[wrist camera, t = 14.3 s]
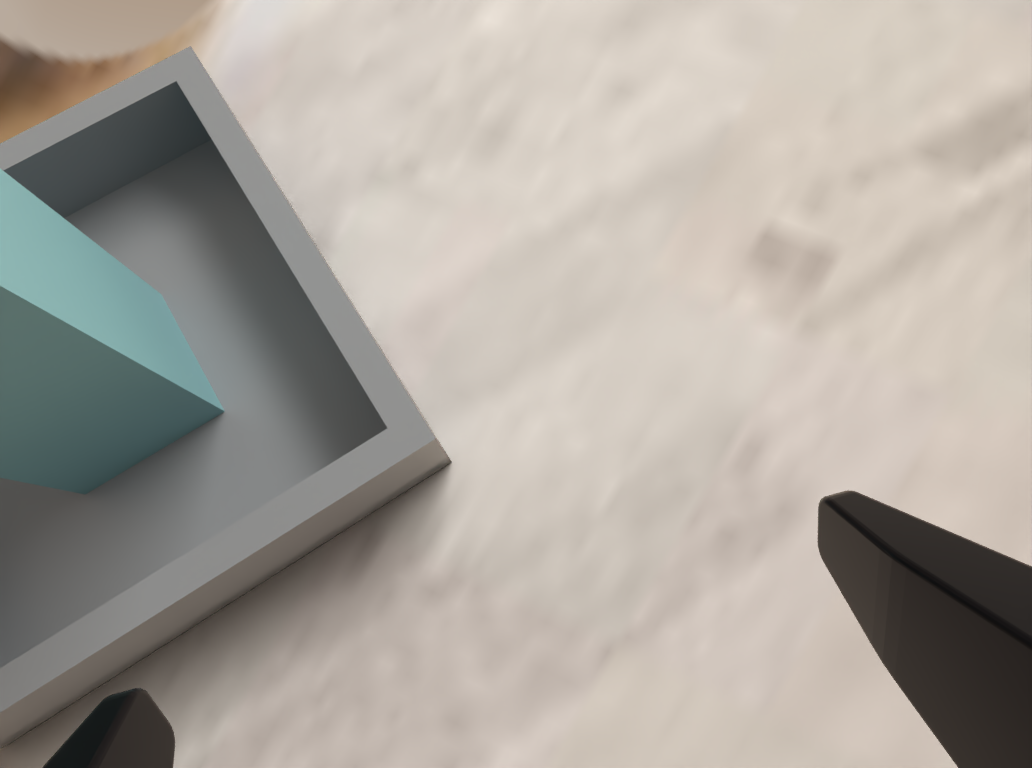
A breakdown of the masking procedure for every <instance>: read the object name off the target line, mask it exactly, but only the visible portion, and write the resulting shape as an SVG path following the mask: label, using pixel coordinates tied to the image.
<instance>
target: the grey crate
mask: <svg viewBox="0 0 1032 768" xmlns="http://www.w3.org/2000/svg"><path fill="white" fill-rule="evenodd" d="M0 169H2V170H3V171H4V172H5V173H7V174H8V175H9V176H11V177H12V178H13V179H14V180H16V181H17V182H18V183H20V184H21V185H22V186H23V187H25V188H26V189H27V190H28V191H30V192H31V193H32V194H34V195H35V196H36V197H37V198H39V199H40V200H41V201H43V202H44V203H45V204H46V205H48V206H49V207H50V208H52V209H53V210H54V211H55V212H57V213H58V214H59V215H61V216H62V217H63V218H64V219H66V220H67V221H68V222H69V223H71V224H72V225H73V226H75V227H76V228H77V229H78V230H80V231H81V232H82V233H84V234H85V235H86V236H87V237H89V238H90V239H91V240H93V241H94V242H95V243H96V244H98V245H99V246H100V247H101V248H103V249H104V250H105V251H107V252H108V253H109V254H110V255H112V256H113V257H114V258H116V259H117V260H118V261H119V262H121V263H122V264H123V265H125V266H126V267H127V268H128V269H130V270H131V271H132V272H134V273H135V274H136V275H137V276H139V277H140V278H141V279H142V280H144V281H145V282H146V283H148V284H149V285H150V286H151V287H153V288H154V289H155V290H157V291H158V292H159V293H160V294H162V296H163V298H164V300H165V302H166V304H167V306H168V307H169V309H170V311H171V313H172V315H173V317H174V318H175V320H176V322H177V324H178V326H179V328H180V330H181V331H182V333H183V335H184V337H185V339H186V341H187V342H188V344H189V346H190V348H191V350H192V352H193V354H194V355H195V357H196V359H197V361H198V363H199V365H200V366H201V368H202V370H203V372H204V374H205V376H206V378H207V379H208V381H209V383H210V385H211V387H212V389H213V390H214V392H215V394H216V396H217V398H218V400H219V401H220V403H221V405H222V407H223V409H224V411H225V412H223V413H221V414H220V415H218V416H216V417H215V418H213V419H211V420H210V421H208V422H206V423H205V424H203V425H201V426H200V427H198V428H196V429H195V430H193V431H191V432H189V433H188V434H186V435H184V436H183V437H181V438H179V439H178V440H176V441H174V442H173V443H171V444H169V445H168V446H166V447H164V448H163V449H161V450H159V451H157V452H156V453H154V454H152V455H151V456H149V457H147V458H146V459H144V460H142V461H141V462H139V463H137V464H136V465H134V466H132V467H131V468H129V469H127V470H125V471H124V472H122V473H120V474H119V475H117V476H115V477H114V478H112V479H110V480H109V481H107V482H105V483H104V484H102V485H100V486H99V487H97V488H95V489H93V490H92V491H90V492H88V493H87V494H80V493H75V492H70V491H65V490H60V489H55V488H50V487H45V486H40V485H35V484H29V483H24V482H19V481H14V480H9V479H4V478H0V748H2V747H5V746H6V745H8V744H10V743H11V742H13V741H14V740H16V739H17V738H19V737H21V736H22V735H24V734H25V733H27V732H28V731H30V730H32V729H33V728H35V727H36V726H38V725H39V724H41V723H43V722H44V721H46V720H47V719H49V718H50V717H52V716H54V715H55V714H57V713H58V712H60V711H61V710H63V709H65V708H66V707H68V706H69V705H71V704H72V703H74V702H76V701H77V700H79V699H80V698H82V697H83V696H85V695H87V694H88V693H90V692H91V691H93V690H94V689H96V688H98V687H99V686H101V685H102V684H104V683H105V682H107V681H109V680H110V679H112V678H113V677H115V676H116V675H118V674H120V673H121V672H123V671H124V670H126V669H127V668H129V667H131V666H132V665H134V664H135V663H137V662H138V661H140V660H142V659H143V658H145V657H146V656H148V655H149V654H151V653H153V652H154V651H156V650H157V649H159V648H160V647H162V646H164V645H165V644H167V643H168V642H170V641H171V640H173V639H175V638H176V637H178V636H179V635H181V634H182V633H184V632H186V631H187V630H189V629H190V628H192V627H193V626H195V625H197V624H198V623H200V622H201V621H203V620H204V619H206V618H208V617H209V616H211V615H212V614H214V613H215V612H217V611H219V610H220V609H222V608H223V607H225V606H226V605H228V604H230V603H231V602H233V601H234V600H236V599H237V598H239V597H241V596H242V595H244V594H245V593H247V592H248V591H250V590H252V589H253V588H255V587H256V586H258V585H259V584H261V583H263V582H264V581H266V580H267V579H269V578H270V577H272V576H274V575H275V574H277V573H278V572H280V571H281V570H283V569H285V568H286V567H288V566H289V565H291V564H292V563H294V562H296V561H297V560H299V559H300V558H302V557H303V556H305V555H307V554H308V553H310V552H311V551H313V550H314V549H316V548H318V547H319V546H321V545H322V544H324V543H325V542H327V541H329V540H330V539H332V538H333V537H335V536H336V535H338V534H340V533H341V532H343V531H344V530H346V529H347V528H349V527H351V526H352V525H354V524H355V523H357V522H358V521H360V520H362V519H363V518H365V517H366V516H368V515H369V514H371V513H373V512H374V511H376V510H377V509H379V508H380V507H382V506H384V505H385V504H387V503H388V502H390V501H391V500H393V499H395V498H396V497H398V496H399V495H401V494H402V493H404V492H406V491H407V490H409V489H410V488H412V487H413V486H415V485H417V484H418V483H420V482H421V481H423V480H424V479H426V478H428V477H429V476H431V475H432V474H434V473H435V472H437V471H439V470H440V469H442V468H443V467H445V466H446V465H448V464H450V463H451V460H450V459H449V457H448V455H447V454H446V452H445V451H444V449H443V447H442V446H441V444H440V443H439V441H438V439H437V438H436V436H435V435H434V433H433V431H432V430H431V428H430V427H429V425H428V423H427V422H426V420H425V419H424V417H423V415H422V414H421V412H420V411H419V409H418V407H417V406H416V404H415V403H414V401H413V399H412V398H411V396H410V395H409V393H408V392H407V390H406V388H405V387H404V385H403V384H402V382H401V380H400V379H399V377H398V376H397V374H396V372H395V371H394V369H393V368H392V366H391V364H390V363H389V361H388V360H387V358H386V356H385V355H384V353H383V352H382V350H381V348H380V347H379V345H378V344H377V342H376V340H375V339H374V337H373V336H372V334H371V332H370V331H369V329H368V328H367V326H366V324H365V323H364V321H363V320H362V318H361V316H360V315H359V313H358V312H357V310H356V309H355V307H354V305H353V304H352V302H351V301H350V299H349V297H348V296H347V294H346V293H345V291H344V289H343V288H342V286H341V285H340V283H339V281H338V280H337V278H336V277H335V275H334V273H333V272H332V270H331V269H330V267H329V265H328V264H327V262H326V261H325V259H324V257H323V256H322V254H321V253H320V251H319V249H318V248H317V246H316V245H315V243H314V241H313V240H312V238H311V237H310V235H309V233H308V232H307V230H306V229H305V227H304V226H303V224H302V222H301V221H300V219H299V218H298V216H297V214H296V213H295V211H294V210H293V208H292V206H291V205H290V203H289V202H288V200H287V198H286V197H285V195H284V194H283V192H282V190H281V189H280V187H279V186H278V184H277V182H276V181H275V179H274V178H273V176H272V174H271V173H270V171H269V170H268V168H267V166H266V165H265V163H264V162H263V160H262V158H261V157H260V155H259V154H258V152H257V150H256V149H255V147H254V146H253V144H252V143H251V141H250V139H249V138H248V136H247V135H246V133H245V131H244V130H243V128H242V127H241V125H240V123H239V122H238V120H237V119H236V117H235V115H234V114H233V112H232V111H231V109H230V108H229V106H228V104H227V103H226V101H225V100H224V98H223V97H222V95H221V93H220V92H219V90H218V89H217V87H216V85H215V84H214V82H213V81H212V79H211V78H210V76H209V74H208V73H207V71H206V70H205V68H204V67H203V65H202V63H201V62H200V60H199V59H198V57H197V55H196V54H195V52H194V51H193V49H192V48H191V46H190V47H188V48H186V49H184V50H182V51H180V52H178V53H176V54H174V55H172V56H170V57H168V58H167V59H165V60H163V61H161V62H159V63H157V64H155V65H153V66H151V67H149V68H147V69H145V70H143V71H141V72H139V73H137V74H135V75H133V76H131V77H129V78H127V79H126V80H124V81H122V82H120V83H118V84H116V85H114V86H112V87H110V88H108V89H106V90H104V91H102V92H100V93H98V94H96V95H94V96H92V97H90V98H88V99H86V100H85V101H83V102H81V103H79V104H77V105H75V106H73V107H71V108H69V109H67V110H65V111H63V112H61V113H59V114H57V115H55V116H53V117H51V118H49V119H47V120H45V121H44V122H42V123H40V124H38V125H36V126H34V127H32V128H30V129H28V130H26V131H24V132H22V133H20V134H18V135H16V136H14V137H12V138H10V139H8V140H6V141H4V142H3V143H1V144H0Z"/></svg>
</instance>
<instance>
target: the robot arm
mask: <svg viewBox="0 0 1032 768" xmlns="http://www.w3.org/2000/svg"><path fill="white" fill-rule="evenodd" d="M818 548H819V552H820V555H821V557H822V560H823V562H824V563H825V565H826V567H827V569H828V570H829V572H830V574H831V575H832V577H833V579H834V581H835V582H836V584H837V586H838V588H839V589H840V591H841V593H842V595H843V596H844V598H845V600H846V601H847V603H848V605H849V607H850V608H851V610H852V612H853V614H854V615H855V617H856V619H857V620H858V622H859V624H860V626H861V627H862V629H863V631H864V633H865V634H866V636H867V638H868V639H869V641H870V643H871V645H872V646H873V648H874V650H875V651H876V653H877V654H878V656H879V658H880V659H881V661H882V663H883V664H884V665H885V667H886V668H887V670H888V671H889V673H890V674H891V676H892V677H893V678H894V680H895V681H896V683H897V684H898V685H899V687H900V688H901V690H902V691H903V692H904V694H905V695H906V696H907V698H908V699H909V701H910V702H911V703H912V705H913V706H914V707H915V709H916V710H917V712H918V713H919V714H920V716H921V717H922V718H923V720H924V721H925V723H926V724H927V725H928V727H929V728H930V729H931V731H932V732H933V734H934V735H935V736H936V738H937V739H938V740H939V742H940V743H941V745H942V746H943V747H944V749H945V750H946V751H947V753H948V754H949V756H950V757H951V758H952V760H953V761H954V762H955V764H956V765H957V767H958V768H1032V566H1029V565H1027V564H1025V563H1022V562H1020V561H1018V560H1015V559H1013V558H1011V557H1008V556H1006V555H1003V554H1001V553H999V552H996V551H994V550H992V549H989V548H987V547H985V546H982V545H980V544H978V543H975V542H973V541H971V540H968V539H966V538H964V537H961V536H959V535H956V534H954V533H952V532H949V531H947V530H945V529H942V528H940V527H938V526H935V525H933V524H931V523H928V522H926V521H924V520H921V519H919V518H917V517H914V516H912V515H909V514H907V513H905V512H902V511H900V510H898V509H895V508H893V507H891V506H888V505H886V504H884V503H881V502H879V501H877V500H874V499H872V498H869V497H867V496H865V495H862V494H860V493H858V492H855V491H844V492H840V493H836V494H833V495H829V496H826V497H824V498H822V499H821V500H820V503H819V507H818ZM174 751H175V737H174V732H173V729H172V727H171V725H170V723H169V722H168V720H167V719H166V717H165V716H164V715H163V713H162V712H161V711H160V709H159V708H158V706H157V705H156V704H155V702H154V701H153V699H152V698H151V697H150V695H149V694H148V693H147V692H146V691H145V690H143V689H141V688H135V689H131V690H128V691H124V692H121V693H117V694H114V695H111V696H109V697H107V698H105V699H104V700H103V701H102V702H101V703H100V704H99V705H98V706H97V707H96V708H95V709H94V711H93V712H92V713H91V714H90V715H89V716H88V717H87V718H86V719H85V721H84V722H83V723H82V724H81V725H80V726H79V727H78V728H77V730H76V731H75V732H74V733H73V734H72V735H71V736H70V737H69V738H68V740H67V741H66V742H65V743H64V744H63V745H62V746H61V747H60V749H59V750H58V751H57V752H56V753H55V754H54V755H53V756H52V757H51V759H50V760H49V761H48V762H47V763H46V764H45V765H44V766H43V768H173V762H174Z"/></svg>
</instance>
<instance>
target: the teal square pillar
mask: <svg viewBox="0 0 1032 768" xmlns="http://www.w3.org/2000/svg"><path fill="white" fill-rule="evenodd" d="M223 412H225V411H224V409H223V407H222V405H221V403H220V401H219V400H218V398H217V396H216V394H215V392H214V390H213V389H212V387H211V385H210V383H209V381H208V379H207V378H206V376H205V374H204V372H203V370H202V368H201V366H200V365H199V363H198V361H197V359H196V357H195V355H194V354H193V352H192V350H191V348H190V346H189V344H188V342H187V341H186V339H185V337H184V335H183V333H182V331H181V330H180V328H179V326H178V324H177V322H176V320H175V318H174V317H173V315H172V313H171V311H170V309H169V307H168V306H167V304H166V302H165V300H164V298H163V296H162V294H160V293H159V292H158V291H157V290H155V289H154V288H153V287H151V286H150V285H149V284H148V283H146V282H145V281H144V280H142V279H141V278H140V277H139V276H137V275H136V274H135V273H134V272H132V271H131V270H130V269H128V268H127V267H126V266H125V265H123V264H122V263H121V262H119V261H118V260H117V259H116V258H114V257H113V256H112V255H110V254H109V253H108V252H107V251H105V250H104V249H103V248H101V247H100V246H99V245H98V244H96V243H95V242H94V241H93V240H91V239H90V238H89V237H87V236H86V235H85V234H84V233H82V232H81V231H80V230H78V229H77V228H76V227H75V226H73V225H72V224H71V223H69V222H68V221H67V220H66V219H64V218H63V217H62V216H61V215H59V214H58V213H57V212H55V211H54V210H53V209H52V208H50V207H49V206H48V205H46V204H45V203H44V202H43V201H41V200H40V199H39V198H37V197H36V196H35V195H34V194H32V193H31V192H30V191H28V190H27V189H26V188H25V187H23V186H22V185H21V184H20V183H18V182H17V181H16V180H14V179H13V178H12V177H11V176H9V175H8V174H7V173H5V172H4V171H3V170H2V169H0V478H4V479H9V480H14V481H19V482H24V483H29V484H35V485H40V486H45V487H50V488H55V489H60V490H65V491H70V492H75V493H80V494H87V493H88V492H90V491H92V490H93V489H95V488H97V487H99V486H100V485H102V484H104V483H105V482H107V481H109V480H110V479H112V478H114V477H115V476H117V475H119V474H120V473H122V472H124V471H125V470H127V469H129V468H131V467H132V466H134V465H136V464H137V463H139V462H141V461H142V460H144V459H146V458H147V457H149V456H151V455H152V454H154V453H156V452H157V451H159V450H161V449H163V448H164V447H166V446H168V445H169V444H171V443H173V442H174V441H176V440H178V439H179V438H181V437H183V436H184V435H186V434H188V433H189V432H191V431H193V430H195V429H196V428H198V427H200V426H201V425H203V424H205V423H206V422H208V421H210V420H211V419H213V418H215V417H216V416H218V415H220V414H221V413H223Z"/></svg>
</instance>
